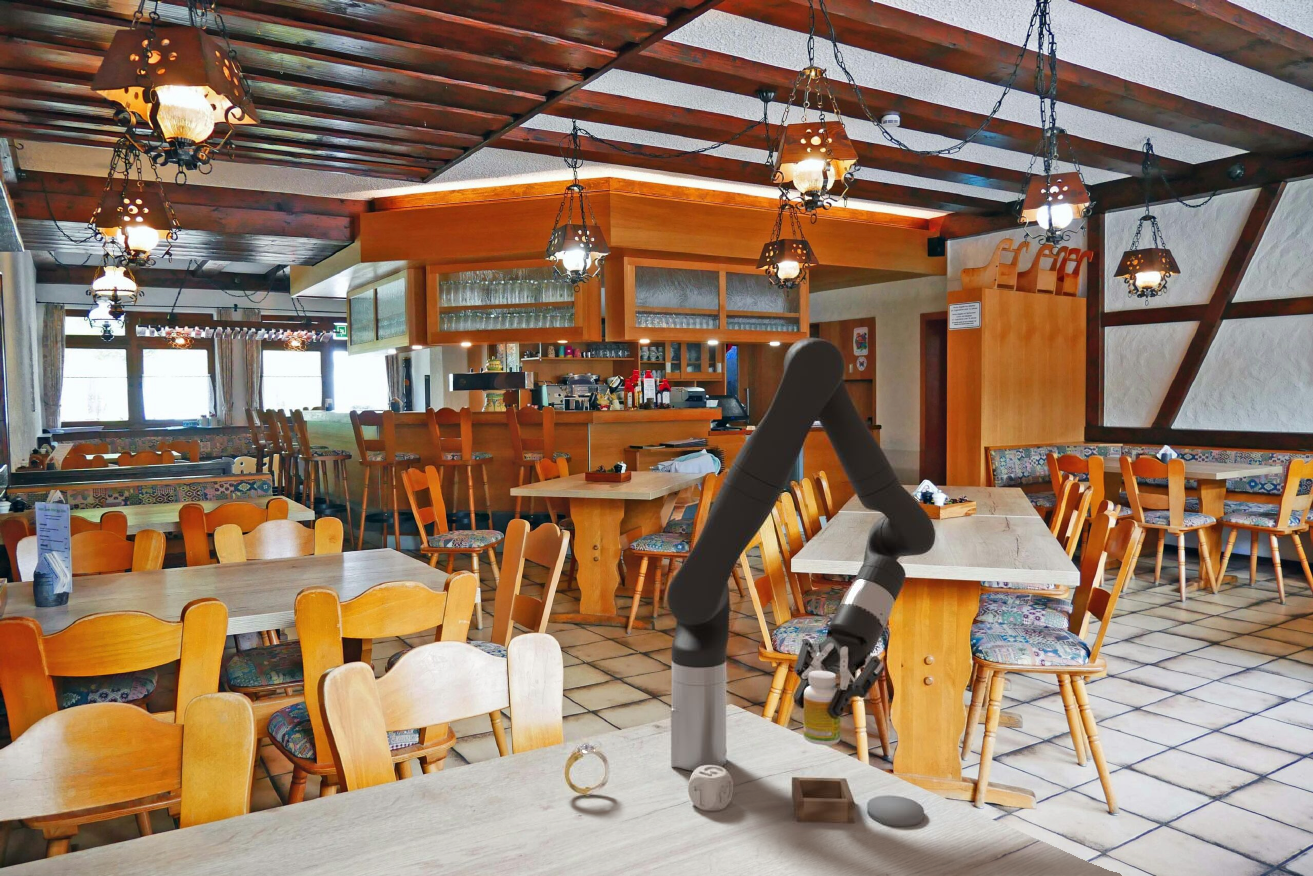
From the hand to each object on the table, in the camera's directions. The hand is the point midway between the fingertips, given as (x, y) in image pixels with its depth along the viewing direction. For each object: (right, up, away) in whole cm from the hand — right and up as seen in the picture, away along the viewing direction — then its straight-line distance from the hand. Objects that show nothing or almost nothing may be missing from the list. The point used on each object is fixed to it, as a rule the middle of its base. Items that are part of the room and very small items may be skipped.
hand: (814, 710), depth 129 cm
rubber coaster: (+12, -15, 0) cm, 19 cm away
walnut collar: (+1, -15, +1) cm, 15 cm away
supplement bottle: (+1, -5, +1) cm, 5 cm away
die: (-15, -15, +4) cm, 22 cm away
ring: (-34, -15, +7) cm, 38 cm away
